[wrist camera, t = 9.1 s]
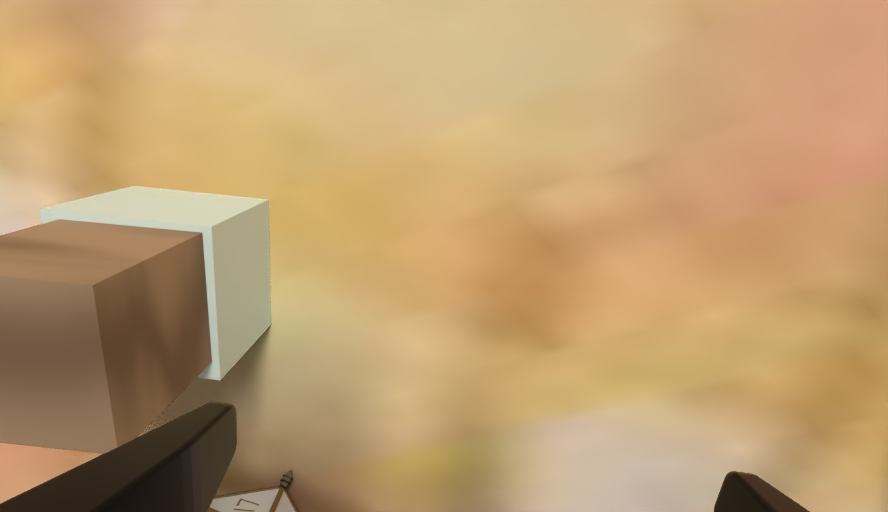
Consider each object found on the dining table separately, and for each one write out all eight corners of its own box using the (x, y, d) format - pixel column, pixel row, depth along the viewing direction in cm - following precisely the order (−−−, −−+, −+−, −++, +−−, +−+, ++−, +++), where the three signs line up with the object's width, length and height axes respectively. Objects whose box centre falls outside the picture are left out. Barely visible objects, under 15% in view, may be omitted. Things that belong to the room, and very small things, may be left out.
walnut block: (212, 361, 18) (118, 455, 13) (81, 348, 18) (-59, 436, 13) (202, 232, 16) (92, 285, 12) (59, 219, 17) (-107, 266, 12)
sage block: (270, 199, 21) (211, 226, 16) (272, 323, 23) (220, 380, 18) (135, 185, 21) (38, 208, 16) (148, 309, 23) (65, 363, 18)
